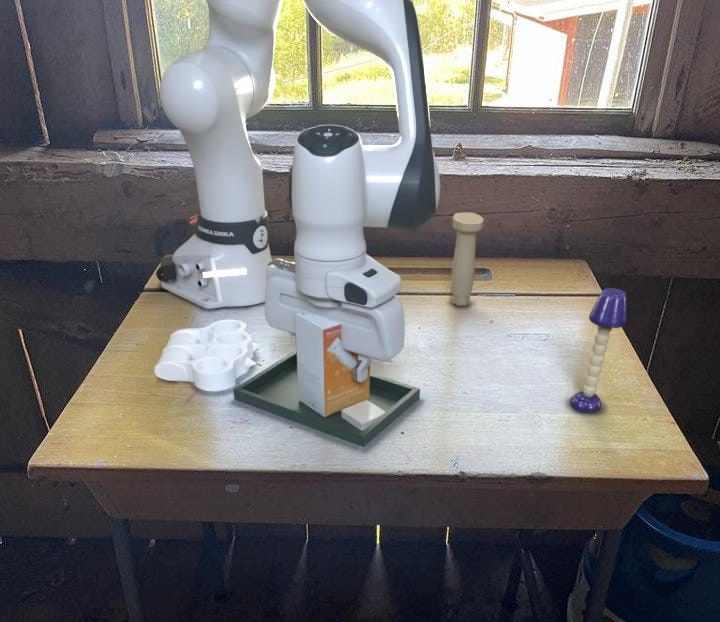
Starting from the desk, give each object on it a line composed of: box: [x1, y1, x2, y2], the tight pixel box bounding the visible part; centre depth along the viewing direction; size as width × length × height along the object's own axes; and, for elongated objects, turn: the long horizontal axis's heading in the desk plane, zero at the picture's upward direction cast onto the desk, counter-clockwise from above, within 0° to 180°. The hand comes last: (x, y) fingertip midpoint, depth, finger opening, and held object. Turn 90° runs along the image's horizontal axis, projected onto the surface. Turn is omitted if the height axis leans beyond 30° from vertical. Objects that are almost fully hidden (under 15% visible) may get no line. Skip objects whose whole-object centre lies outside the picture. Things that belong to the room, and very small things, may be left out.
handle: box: [450, 211, 484, 307], centre depth 125 cm, size 5×6×15 cm
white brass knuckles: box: [153, 318, 262, 392], centre depth 110 cm, size 3×18×15 cm
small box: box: [295, 313, 371, 417], centre depth 97 cm, size 8×6×13 cm
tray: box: [232, 349, 421, 448], centre depth 101 cm, size 22×15×2 cm
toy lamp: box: [569, 287, 627, 414], centre depth 97 cm, size 5×5×17 cm
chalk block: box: [342, 400, 385, 431], centre depth 97 cm, size 4×4×1 cm
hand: (332, 371), depth 98 cm, fingers open, 7 cm apart
